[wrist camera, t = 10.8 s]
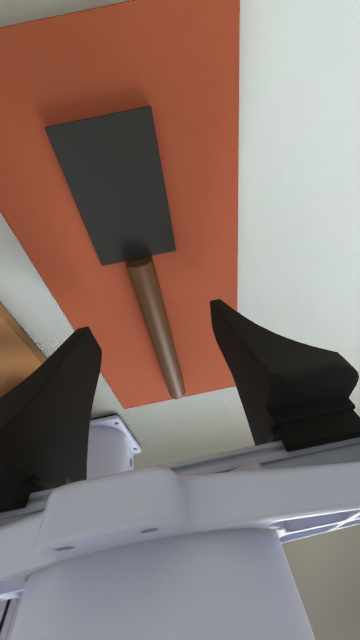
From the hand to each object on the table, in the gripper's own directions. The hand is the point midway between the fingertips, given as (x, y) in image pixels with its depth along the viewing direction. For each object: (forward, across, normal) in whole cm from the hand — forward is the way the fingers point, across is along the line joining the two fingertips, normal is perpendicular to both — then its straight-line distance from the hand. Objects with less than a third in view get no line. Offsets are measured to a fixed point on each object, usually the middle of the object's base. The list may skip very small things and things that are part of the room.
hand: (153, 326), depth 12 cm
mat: (+3, 0, 0) cm, 3 cm away
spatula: (+2, 0, 0) cm, 2 cm away
